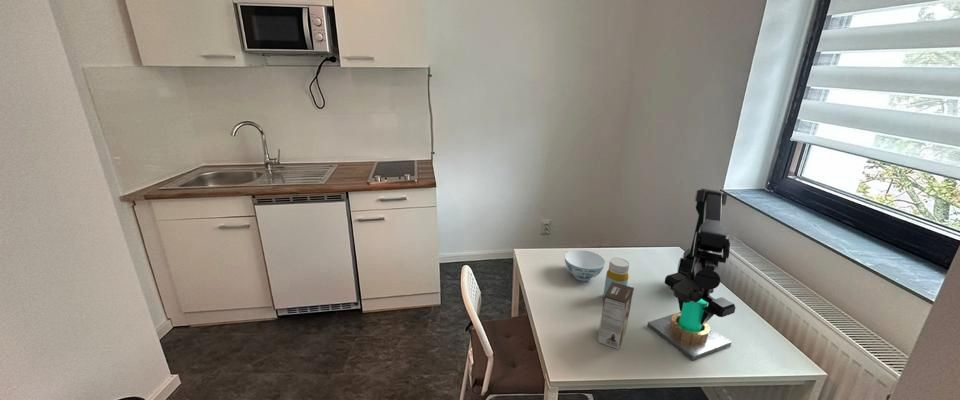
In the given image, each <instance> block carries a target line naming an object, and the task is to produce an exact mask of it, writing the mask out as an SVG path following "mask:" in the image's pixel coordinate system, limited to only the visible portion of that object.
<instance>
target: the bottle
mask: <svg viewBox="0 0 960 400" xmlns="http://www.w3.org/2000/svg"><path fill="white" fill-rule="evenodd" d="M629 269H630V261H628V260H626V259H625V258H621V257H612V258H610V259H609V265H608V269H607V271H606V274H605V279H604V280H605V281H604V288H603V294H602V298H603V299H604V296H605V294H606V292H607V290H608V289H609V287H610V285H611V283H612V282H614V283H618V284H622V285H626V286H628V283H629V282H628V281H629V277H630V276H629Z"/></svg>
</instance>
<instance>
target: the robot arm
mask: <svg viewBox="0 0 960 400" xmlns="http://www.w3.org/2000/svg"><path fill="white" fill-rule="evenodd" d="M727 198H728V194H727V193H725V192H723V191H722V190H716V189H707V188H700V189H697V190H696V191H695V193H694V199H693V201H694V202H695V210H696V212H697V217H696V222H695V226H694V230H693V234H692V238H691V243H690V246H689V248H688V249H686V250H685V251H684V252H683V255H682V257H680V258H679V260H678V263H677V272H675V273H671V274H668V275H666V276H665V277H664V284H665V285H666V286H668V287H670V290H671V291H672V292H673V296H674V297H675V298H677V302H678V307H679V312H681V311H682V307H683V302H684V303H689V302H690V301H693V302H695V303H696V302H698V301H699V300H701V299H703V300H704V301H706V302H708V305H707V306H706V307H703V308H702V309H703V310H704V313H703V316H702V319H701V325H704V324H705V323H708V321H710V320H711V318H713V317H714V316H716V317H718V318H723V317H726V316H729V315H733V314H734V313H735V312H736V305H735V303H733V302H732V301H730V300H728V299H726V298H725V297H723V296H721V297H718V298H714V297H713V296H712V295H710V294H713V293H714V290H715V289H716V288H718V287H719V285H720V284H721V276H720V269H719V263H724V264H726V262H727V260H728V259H729V257H730V250H731V249H730V248H731V247H730V246H731V242H730V239H729V237H728V236H727V229H726V227H724V226H723V225H722V209H723V208H722V207H725V206H726V203H727ZM720 253H722V254H720Z"/></svg>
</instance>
